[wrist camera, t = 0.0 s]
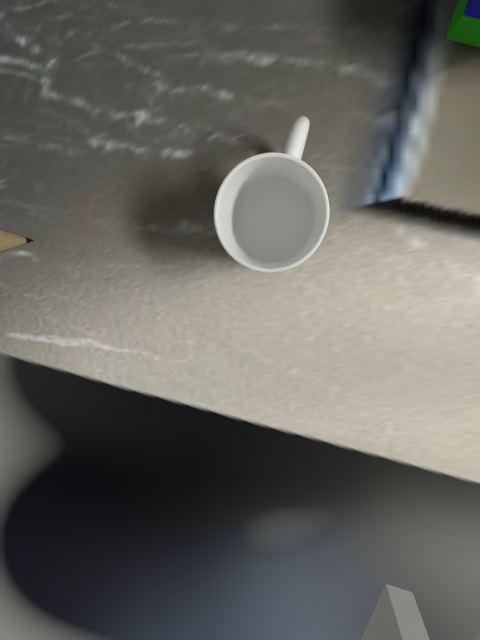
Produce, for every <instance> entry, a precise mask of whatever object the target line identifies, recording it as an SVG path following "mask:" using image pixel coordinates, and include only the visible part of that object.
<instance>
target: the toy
mask: <svg viewBox="0 0 480 640" xmlns="http://www.w3.org/2000/svg"><path fill="white" fill-rule="evenodd" d="M444 39H448V40H451V41H455V42H459V43H463V44H467V45H471V46H475V47H478V48H480V0H458V3H457V6H456V9H455V11H454V14H453V17H452V19H451V22H450V25H449V27H448V30H447V33H446V36H445V38H444Z"/></svg>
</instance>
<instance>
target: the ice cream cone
mask: <svg viewBox="0 0 480 640" xmlns="http://www.w3.org/2000/svg"><path fill="white" fill-rule="evenodd" d="M31 241H33V240H31V239H28V238H25V237H22V236H18V235H15V234H12V233H8V232H5V231H2V230H0V252H1V251H4V250H7V249H10V248H13V247H16V246H19V245H22V244H25V243H28V242H31Z"/></svg>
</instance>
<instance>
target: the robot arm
mask: <svg viewBox="0 0 480 640" xmlns="http://www.w3.org/2000/svg"><path fill="white" fill-rule="evenodd" d="M361 640H429V637H428V634H427V632H426V629H425V626H424V623H423V621H422V618H421V615H420V612H419V610H418V607H417V604H416V601H415V598H414V596H413V593H412V592H409V591H406V590H403V589H400V588H397V587H394V586H390V585H387V584H386V586H385V588H384V590H383V592H382V595H381V597H380V599H379V602H378V603H377V606H376V608H375V610H374V613H373V615H372V617H371V619H370V621H369V624H368V626H367V628H366V630H365V633H364V635H363V637H362V639H361Z"/></svg>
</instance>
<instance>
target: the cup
mask: <svg viewBox="0 0 480 640" xmlns="http://www.w3.org/2000/svg"><path fill="white" fill-rule="evenodd" d="M309 124H310V123H309V120H308V118H306V117H304V116H301V117H299V118H298V119H297V120H296V121H295V122H294V124H293V126H292V129H291V131H290V134H289V136H288V139H287V142H286V145H285V148H284V151H283V153H274V152H271V153H263V154H258V155H255V156H252V157H250V158H248V159H246V160H244V161H242V162H241V163H239V164H238V165H237V166H236V167H234V168H233V169H232V170H231V171H230V173H229V174H228V175H227V176H226V178H225V179H224V180H223V182H222V184H221V186H220V188H219V190H218V193H217V196H216V199H215V205H214V224H215V229H216V232H217V235H218V238H219V240H220V242H221V244H222V246H223V247H224V249H225V250H226V251H227V253H228V254H229V255H230V256H231V257H232V258H233V259H234V260H236V261H237V262H238V263H240V264H241V265H243V266H245V267H247V268H250V269H252V270H256V271H260V272H280V271H285V270H288V269H291V268H293V267H295V266H297V265H299V264H301V263H302V262H303V261H305V260H306V259H307V258H309V257H310V256H311V255H312V254H313V253H314V251H315V250H316V249H317V248H318V246H319V245H320V243H321V241H322V239H323V237H324V235H325V233H326V229H327V226H328V221H329V201H328V196H327V192H326V189H325V187H324V185H323V183H322V181H321V179H320V178H319V176H318V175H317V174H316V172H315V171H314V170H313V169H312V168H311V167H310V166H309V165H307V164H306V163H305V162H303V161H302V160H301V157H302V153H303V150H304V146H305V142H306V139H307V135H308V130H309Z"/></svg>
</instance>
